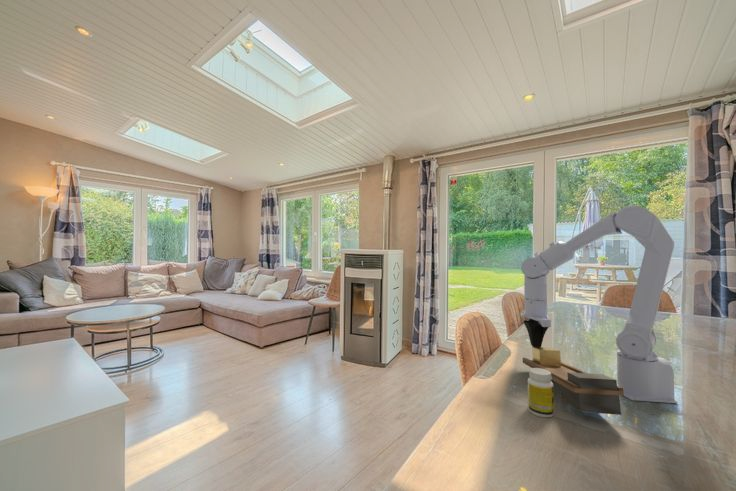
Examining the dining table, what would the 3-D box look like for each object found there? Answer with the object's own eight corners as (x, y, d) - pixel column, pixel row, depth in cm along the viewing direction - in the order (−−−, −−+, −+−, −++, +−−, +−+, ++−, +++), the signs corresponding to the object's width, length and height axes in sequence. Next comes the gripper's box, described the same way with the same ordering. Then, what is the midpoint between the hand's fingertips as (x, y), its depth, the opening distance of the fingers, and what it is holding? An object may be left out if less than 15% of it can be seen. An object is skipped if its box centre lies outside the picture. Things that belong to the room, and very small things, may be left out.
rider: (552, 362, 83) (551, 347, 83) (561, 367, 78) (559, 350, 78) (532, 361, 83) (531, 346, 84) (540, 365, 78) (539, 349, 79)
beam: (556, 377, 84) (554, 353, 85) (626, 415, 57) (622, 380, 58) (523, 375, 85) (522, 352, 86) (576, 411, 58) (573, 377, 59)
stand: (584, 387, 75) (584, 371, 75) (605, 403, 67) (605, 385, 67) (526, 384, 77) (526, 368, 77) (540, 399, 69) (540, 381, 69)
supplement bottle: (557, 419, 60) (557, 376, 60) (532, 416, 61) (531, 374, 61) (548, 407, 65) (548, 367, 65) (524, 405, 66) (524, 366, 66)
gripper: (512, 295, 96) (513, 338, 95) (530, 302, 81) (531, 354, 81) (536, 296, 95) (537, 340, 94) (559, 303, 80) (559, 355, 80)
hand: (536, 346), depth 87 cm, fingers closed
